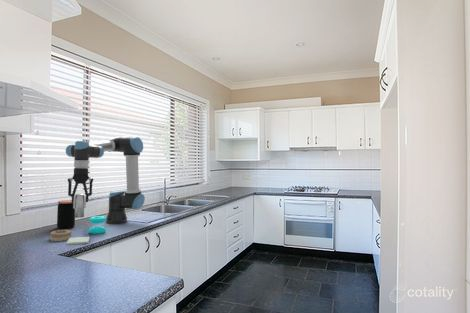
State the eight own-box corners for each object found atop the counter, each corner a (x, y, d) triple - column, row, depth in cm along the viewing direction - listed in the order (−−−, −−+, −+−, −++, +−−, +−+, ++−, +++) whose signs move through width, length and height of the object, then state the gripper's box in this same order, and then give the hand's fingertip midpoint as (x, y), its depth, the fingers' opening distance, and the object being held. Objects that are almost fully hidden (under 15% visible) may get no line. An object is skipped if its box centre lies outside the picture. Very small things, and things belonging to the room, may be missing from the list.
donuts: (100, 215, 204) (109, 217, 199) (99, 229, 204) (108, 232, 199) (86, 217, 196) (95, 219, 190) (85, 232, 196) (94, 235, 190)
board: (90, 238, 183) (90, 236, 183) (88, 243, 173) (88, 241, 173) (69, 239, 179) (69, 237, 179) (66, 244, 169) (66, 242, 169)
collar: (72, 235, 187) (72, 229, 187) (69, 240, 177) (69, 233, 177) (52, 236, 183) (52, 230, 183) (48, 241, 174) (48, 234, 174)
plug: (84, 215, 179) (85, 193, 179) (83, 217, 175) (84, 194, 175) (75, 216, 177) (76, 193, 177) (74, 217, 173) (74, 194, 173)
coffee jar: (78, 226, 212) (79, 200, 213) (68, 229, 202) (68, 202, 202) (63, 225, 214) (64, 199, 214) (53, 228, 203) (54, 201, 203)
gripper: (62, 167, 170) (61, 209, 169) (97, 168, 176) (95, 208, 176) (65, 167, 177) (63, 207, 176) (98, 167, 183) (97, 206, 183)
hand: (79, 207), depth 176 cm, fingers closed on plug, 5 cm apart
